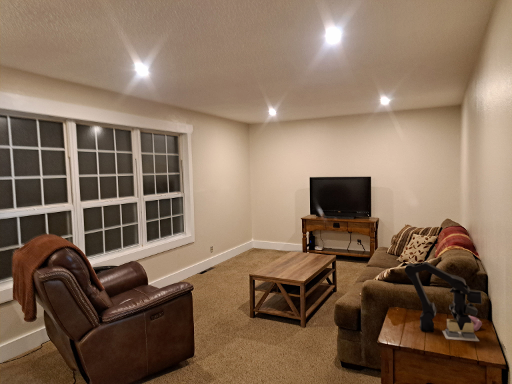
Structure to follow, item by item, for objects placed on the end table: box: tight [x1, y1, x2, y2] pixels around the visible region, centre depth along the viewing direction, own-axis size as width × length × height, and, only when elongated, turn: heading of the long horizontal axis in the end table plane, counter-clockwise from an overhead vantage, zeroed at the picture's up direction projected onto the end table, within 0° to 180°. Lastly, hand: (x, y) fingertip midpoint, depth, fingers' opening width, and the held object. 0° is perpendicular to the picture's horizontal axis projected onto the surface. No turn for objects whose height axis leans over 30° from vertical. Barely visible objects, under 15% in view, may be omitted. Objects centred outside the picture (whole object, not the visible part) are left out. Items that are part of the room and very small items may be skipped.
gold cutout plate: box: [446, 318, 475, 334], centre depth 192 cm, size 12×4×5 cm, turn 75°
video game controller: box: [468, 315, 483, 332], centre depth 202 cm, size 10×5×7 cm, turn 17°
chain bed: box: [441, 328, 480, 342], centre depth 192 cm, size 16×9×6 cm, turn 75°
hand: (459, 328), depth 192 cm, fingers closed on gold cutout plate, 4 cm apart
